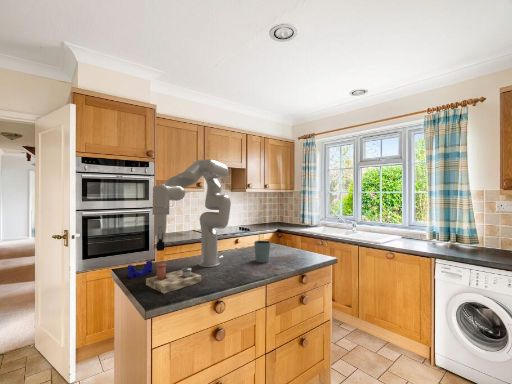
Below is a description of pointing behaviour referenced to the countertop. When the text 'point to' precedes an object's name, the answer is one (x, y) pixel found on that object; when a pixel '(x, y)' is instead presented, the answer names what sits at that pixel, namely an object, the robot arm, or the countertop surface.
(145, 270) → the cable clip
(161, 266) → the red plug
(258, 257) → the drinking glass
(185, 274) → the grey plug
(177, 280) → the board
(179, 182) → the robot arm
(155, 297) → the countertop surface
